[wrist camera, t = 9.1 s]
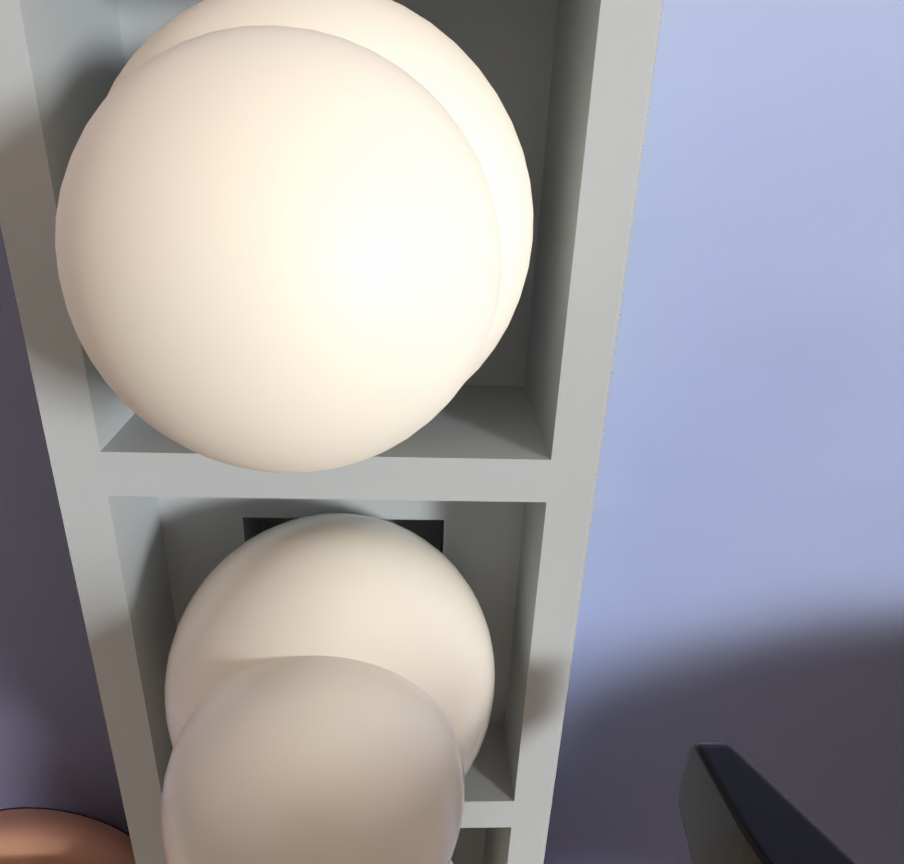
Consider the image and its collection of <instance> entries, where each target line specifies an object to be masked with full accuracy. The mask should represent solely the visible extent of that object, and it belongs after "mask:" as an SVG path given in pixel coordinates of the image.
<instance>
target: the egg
mask: <svg viewBox="0 0 904 864" xmlns="http://www.w3.org/2000/svg"><path fill="white" fill-rule="evenodd" d="M494 691H495V665H494V654H493V648H492V642H491V638H490V633H489V629H488V626H487V623H486V620H485V617H484V614H483V612H482V609H481V607H480V605H479V602H478V600H477V599H476V597H475V595H474V593H473V591H472V589H471V587H470V586H469V585H468V583H467V582H466V580H465V579H464V578H463V576H462V575H461V574H460V572H459V571H458V570H457V568H456V567H455V566H454V565H453V564H452V563H451V562H450V560H449V559H448V558H447V557H446V556H445V555H444V554H443V553H441V552H440V551H439V550H438V549H436V548H435V547H434V546H432V545H431V544H430V543H429V542H427V541H426V540H425V539H423V538H422V537H420V536H418V535H417V534H415V533H413V532H412V531H410V530H408V529H406V528H403V527H401V526H399V525H397V524H394V523H392V522H388V521H385V520H382V519H379V518H375V517H370V516H364V515H359V514H346V513H330V514H318V515H311V516H305V517H301V518H298V519H294V520H290V521H287V522H285V523H282V524H280V525H277V526H275V527H272V528H270V529H268V530H265V531H263V532H262V533H260V534H258V535H256V536H254V537H253V538H251V539H249V540H248V541H246V542H245V543H244V544H242V545H241V546H240V547H238V548H237V549H236V550H235V551H233V552H232V553H231V554H229V555H228V556H227V557H225V558H224V559H223V560H222V561H221V562H220V563H219V564H218V566H217V567H216V568H215V569H214V570H213V571H212V572H211V573H210V574H209V575H208V577H207V578H206V579H205V580H204V581H203V583H202V584H201V586H200V587H199V588H198V590H197V591H196V592H195V594H194V595H193V597H192V599H191V601H190V602H189V604H188V606H187V608H186V610H185V612H184V614H183V616H182V618H181V620H180V622H179V624H178V627H177V630H176V633H175V636H174V639H173V642H172V645H171V649H170V652H169V657H168V663H167V670H166V678H165V710H166V721H167V726H168V730H169V734H170V739H171V742H172V746H173V750H172V753H171V756H170V760H169V763H168V766H167V770H166V773H165V777H164V784H163V791H162V799H161V808H160V811H161V834H162V843H163V848H164V853H165V858H166V862H167V864H449V863H450V860H451V858H452V855H453V852H454V849H455V846H456V843H457V840H458V837H459V833H460V827H461V822H462V816H463V810H464V796H465V776H466V774H467V772H468V771H469V769H470V767H471V765H472V764H473V762H474V760H475V758H476V756H477V754H478V753H479V750H480V747H481V745H482V742H483V739H484V737H485V734H486V731H487V728H488V725H489V721H490V716H491V711H492V705H493V698H494Z"/></svg>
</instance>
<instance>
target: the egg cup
mask: <svg viewBox="0 0 904 864" xmlns="http://www.w3.org/2000/svg"><path fill="white" fill-rule="evenodd" d="M0 864H136V862H135V858H134V853H133V848H132V843H131V839H130V836H128V835H127V834H125V833H123V832H121V831H119V830H117V829H116V828H114V827H112V826H110V825H107V824H105V823H102V822H100V821H97V820H94V819H91V818H88V817H84V816H81V815H77V814H73V813H68V812H63V811H56V810H48V809H28V808H27V809H10V810H3V811H0Z"/></svg>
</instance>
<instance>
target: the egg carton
mask: <svg viewBox="0 0 904 864" xmlns="http://www.w3.org/2000/svg"><path fill="white" fill-rule="evenodd" d="M663 2H664V0H0V227H1V232H2V236H3V241H4V246H5V250H6V255H7V260H8V265H9V269H10V274H11V279H12V283H13V288H14V293H15V298H16V302H17V307H18V312H19V316H20V321H21V326H22V331H23V335H24V340H25V345H26V349H27V354H28V359H29V363H30V368H31V373H32V378H33V382H34V387H35V392H36V396H37V401H38V406H39V411H40V415H41V420H42V425H43V429H44V434H45V439H46V443H47V448H48V453H49V458H50V462H51V467H52V472H53V476H54V481H55V486H56V491H57V495H58V500H59V505H60V509H61V514H62V519H63V523H64V528H65V533H66V538H67V542H68V547H69V552H70V556H71V561H72V566H73V571H74V575H75V580H76V585H77V589H78V594H79V599H80V603H81V608H82V613H83V618H84V622H85V627H86V632H87V636H88V641H89V646H90V651H91V655H92V660H93V665H94V669H95V674H96V679H97V683H98V688H99V693H100V698H101V702H102V707H103V712H104V716H105V721H106V726H107V731H108V735H109V740H110V745H111V749H112V754H113V759H114V763H115V768H116V773H117V778H118V782H119V787H120V792H121V796H122V801H123V806H124V811H125V815H126V820H127V825H128V829H129V834H130V839H131V843H132V848H133V853H134V858H135V862H136V864H167V862H166V858H165V853H164V848H163V843H162V834H161V811H160V808H161V799H162V791H163V784H164V777H165V773H166V770H167V766H168V763H169V760H170V756H171V753H172V750H173V746H172V742H171V739H170V734H169V730H168V726H167V721H166V710H165V678H166V670H167V663H168V657H169V652H170V649H171V645H172V642H173V639H174V636H175V633H176V630H177V627H178V624H179V622H180V620H181V618H182V616H183V614H184V612H185V610H186V608H187V606H188V604H189V602H190V601H191V599H192V597H193V595H194V594H195V592H196V591H197V590H198V588H199V587H200V586H201V584H202V583H203V581H204V580H205V579H206V578H207V577H208V575H209V574H210V573H211V572H212V571H213V570H214V569H215V568H216V567H217V566H218V564H219V563H220V562H221V561H222V560H223V559H224V558H225V557H227V556H228V555H229V554H231V553H232V552H233V551H235V550H236V549H237V548H238V547H240V546H241V545H242V544H244V543H245V542H246V541H248V540H249V539H251V538H253V537H254V536H256V535H258V534H260V533H262V532H263V531H265V530H268V529H270V528H272V527H275V526H277V525H280V524H282V523H285V522H287V521H290V520H294V519H298V518H301V517H305V516H311V515H318V514H330V513H346V514H359V515H364V516H370V517H375V518H379V519H382V520H385V521H388V522H392V523H394V524H397V525H399V526H401V527H403V528H406V529H408V530H410V531H412V532H413V533H415V534H417V535H418V536H420V537H422V538H423V539H425V540H426V541H427V542H429V543H430V544H431V545H432V546H434V547H435V548H436V549H438V550H439V551H440V552H441V553H443V554H444V555H445V556H446V557H447V558H448V559H449V560H450V562H451V563H452V564H453V565H454V566H455V567H456V568H457V570H458V571H459V572H460V574H461V575H462V576H463V578H464V579H465V580H466V582H467V583H468V585H469V586H470V587H471V589H472V591H473V593H474V595H475V597H476V599H477V600H478V602H479V605H480V607H481V609H482V612H483V614H484V617H485V620H486V623H487V626H488V629H489V633H490V638H491V642H492V648H493V654H494V665H495V691H494V698H493V705H492V711H491V716H490V721H489V725H488V728H487V731H486V734H485V737H484V739H483V742H482V745H481V747H480V750H479V753H478V754H477V756H476V758H475V760H474V762H473V764H472V765H471V767H470V769H469V771H468V772H467V774H466V776H465V796H464V810H463V816H462V822H461V827H460V833H459V837H458V840H457V843H456V846H455V849H454V852H453V855H452V858H451V860H450V863H449V864H543V863H544V856H545V849H546V841H547V834H548V827H549V820H550V813H551V806H552V798H553V791H554V784H555V777H556V770H557V763H558V755H559V748H560V741H561V734H562V727H563V719H564V712H565V705H566V698H567V691H568V684H569V676H570V669H571V662H572V655H573V648H574V641H575V633H576V626H577V619H578V612H579V605H580V598H581V590H582V583H583V576H584V569H585V562H586V555H587V547H588V540H589V533H590V526H591V519H592V511H593V504H594V497H595V490H596V483H597V476H598V468H599V461H600V454H601V447H602V440H603V433H604V425H605V418H606V411H607V404H608V397H609V390H610V382H611V375H612V368H613V361H614V354H615V346H616V339H617V332H618V325H619V318H620V311H621V303H622V296H623V289H624V282H625V275H626V268H627V260H628V253H629V246H630V239H631V232H632V225H633V217H634V210H635V203H636V196H637V189H638V181H639V174H640V167H641V160H642V153H643V146H644V138H645V131H646V124H647V117H648V110H649V103H650V95H651V88H652V81H653V74H654V67H655V60H656V52H657V45H658V38H659V31H660V24H661V16H662V9H663Z"/></svg>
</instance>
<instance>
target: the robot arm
mask: <svg viewBox="0 0 904 864" xmlns="http://www.w3.org/2000/svg"><path fill="white" fill-rule="evenodd" d="M679 803H680V810H681V815H682V819H683V823H684V828H685V832H686V836H687V841H688V845H689V849H690V854H691V858H692V862H693V864H855V863H854V862H853V861H852V860H851V859H850V858H849V857H848V856H847V855H846V854H845V853H844V852H843V851H841V850H840V849H839V848H838V847H837V846H836V845H835V844H834V843H833V842H832V841H831V840H830V839H829V838H828V837H827V836H826V835H824V834H823V833H822V832H821V831H820V830H819V829H818V828H817V827H816V826H815V825H814V824H813V823H812V822H811V821H810V820H809V819H807V818H806V817H805V816H804V815H803V814H802V813H801V812H800V811H799V810H798V809H797V808H796V807H795V806H794V805H793V804H792V803H791V802H789V801H788V800H787V799H786V798H785V797H784V796H783V795H782V794H781V793H780V792H779V791H778V790H777V789H776V788H775V787H774V786H772V785H771V784H770V783H769V782H768V781H767V780H766V779H765V778H764V777H763V776H762V775H761V774H760V773H759V772H758V771H757V770H755V769H754V768H753V767H752V766H751V765H750V764H749V763H748V762H747V761H746V760H745V759H744V758H743V757H742V756H741V755H740V754H739V753H737V752H736V751H735V750H734V749H733V748H732V747H731V746H729V745H728V744H726V743H722V742H697V743H694V744H693V745H692V746H691V747H690V749H689V752H688V756H687V760H686V764H685V768H684V772H683V776H682V781H681V785H680V790H679Z"/></svg>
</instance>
